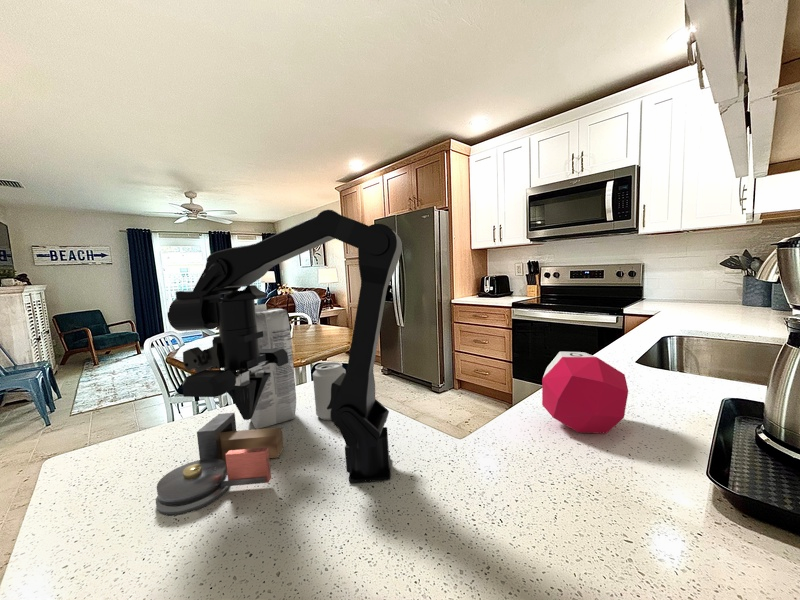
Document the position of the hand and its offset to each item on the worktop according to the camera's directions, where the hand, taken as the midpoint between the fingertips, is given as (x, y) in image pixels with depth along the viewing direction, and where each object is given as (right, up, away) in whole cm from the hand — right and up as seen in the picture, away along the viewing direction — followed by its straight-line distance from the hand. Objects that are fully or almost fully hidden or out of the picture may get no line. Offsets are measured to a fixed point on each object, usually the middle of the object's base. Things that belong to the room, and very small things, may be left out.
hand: (247, 419), depth 56 cm
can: (+10, -7, +21) cm, 25 cm away
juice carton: (-4, -8, +21) cm, 23 cm away
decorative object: (+62, -4, +8) cm, 62 cm away
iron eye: (-7, -9, +5) cm, 13 cm away
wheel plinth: (-6, -10, -5) cm, 12 cm away
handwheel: (-2, -8, -5) cm, 10 cm away
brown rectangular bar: (-3, -9, +5) cm, 10 cm away
